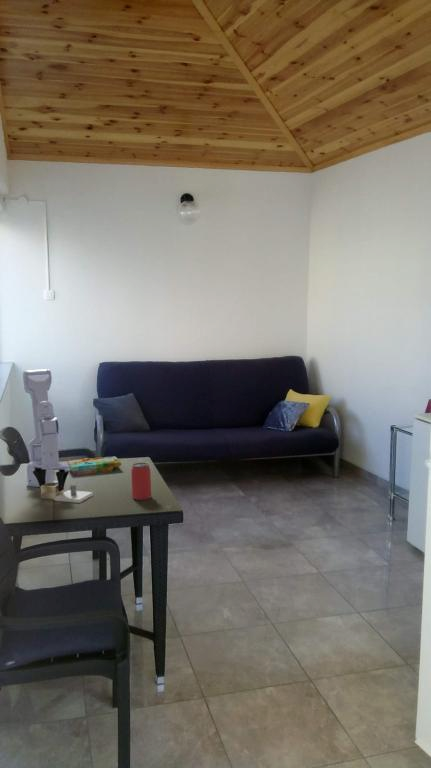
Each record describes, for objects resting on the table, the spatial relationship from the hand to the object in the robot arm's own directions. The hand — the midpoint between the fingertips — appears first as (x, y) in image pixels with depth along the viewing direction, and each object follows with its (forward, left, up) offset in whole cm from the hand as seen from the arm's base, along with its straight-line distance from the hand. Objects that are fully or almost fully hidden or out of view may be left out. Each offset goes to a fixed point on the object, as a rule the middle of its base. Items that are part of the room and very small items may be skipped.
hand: (52, 489), depth 239 cm
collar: (0, 0, -3) cm, 3 cm away
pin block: (+8, +1, -3) cm, 9 cm away
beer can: (+32, +7, -3) cm, 33 cm away
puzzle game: (-4, +37, -3) cm, 37 cm away
